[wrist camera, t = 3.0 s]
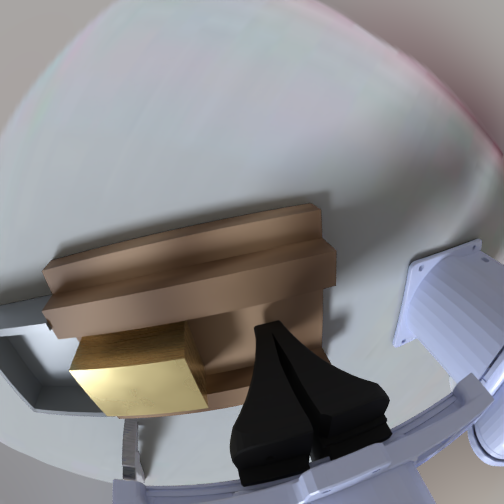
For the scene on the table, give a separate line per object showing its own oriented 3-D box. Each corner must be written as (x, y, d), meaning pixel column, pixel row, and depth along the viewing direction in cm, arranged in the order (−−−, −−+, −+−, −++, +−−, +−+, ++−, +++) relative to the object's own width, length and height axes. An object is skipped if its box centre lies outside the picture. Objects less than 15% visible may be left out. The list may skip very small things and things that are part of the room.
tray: (65, 291, 12) (45, 323, 10) (119, 384, 16) (114, 416, 13) (-10, 307, 11) (-29, 332, 9) (43, 385, 15) (34, 412, 12)
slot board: (310, 203, 13) (336, 219, 11) (314, 365, 18) (327, 392, 16) (51, 260, 12) (28, 285, 9) (131, 399, 17) (128, 428, 14)
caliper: (125, 407, 18) (119, 473, 12) (138, 410, 18) (134, 476, 12) (137, 476, 25) (138, 512, 19) (145, 477, 25) (146, 513, 19)
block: (184, 315, 13) (184, 358, 10) (204, 366, 15) (208, 407, 12) (84, 331, 12) (68, 370, 10) (114, 378, 14) (107, 416, 11)
